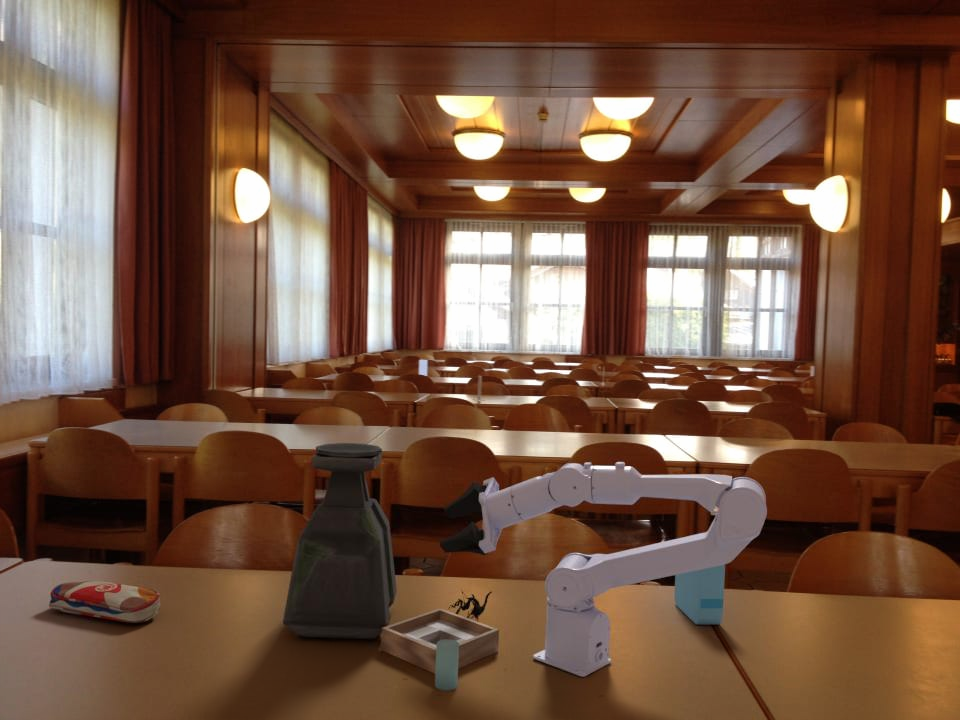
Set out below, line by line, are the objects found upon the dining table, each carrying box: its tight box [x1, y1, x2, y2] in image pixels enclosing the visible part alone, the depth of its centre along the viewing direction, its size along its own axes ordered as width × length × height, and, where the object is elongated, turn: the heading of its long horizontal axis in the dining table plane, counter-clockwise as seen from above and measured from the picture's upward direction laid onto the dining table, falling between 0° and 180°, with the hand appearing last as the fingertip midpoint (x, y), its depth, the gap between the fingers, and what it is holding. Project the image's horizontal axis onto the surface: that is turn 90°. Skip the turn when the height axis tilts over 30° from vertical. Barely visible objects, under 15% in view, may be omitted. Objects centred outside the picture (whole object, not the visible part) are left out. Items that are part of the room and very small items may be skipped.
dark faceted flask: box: [282, 442, 398, 640], centre depth 133 cm, size 18×16×30 cm
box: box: [380, 607, 500, 675], centre depth 124 cm, size 13×13×4 cm
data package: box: [674, 564, 726, 626], centre depth 145 cm, size 12×4×12 cm, turn 6°
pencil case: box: [48, 580, 161, 624], centre depth 134 cm, size 11×20×5 cm, turn 58°
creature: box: [447, 589, 493, 619], centre depth 140 cm, size 8×5×8 cm
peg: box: [434, 639, 459, 691], centre depth 112 cm, size 3×3×6 cm
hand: (445, 529), depth 129 cm, fingers open, 7 cm apart
